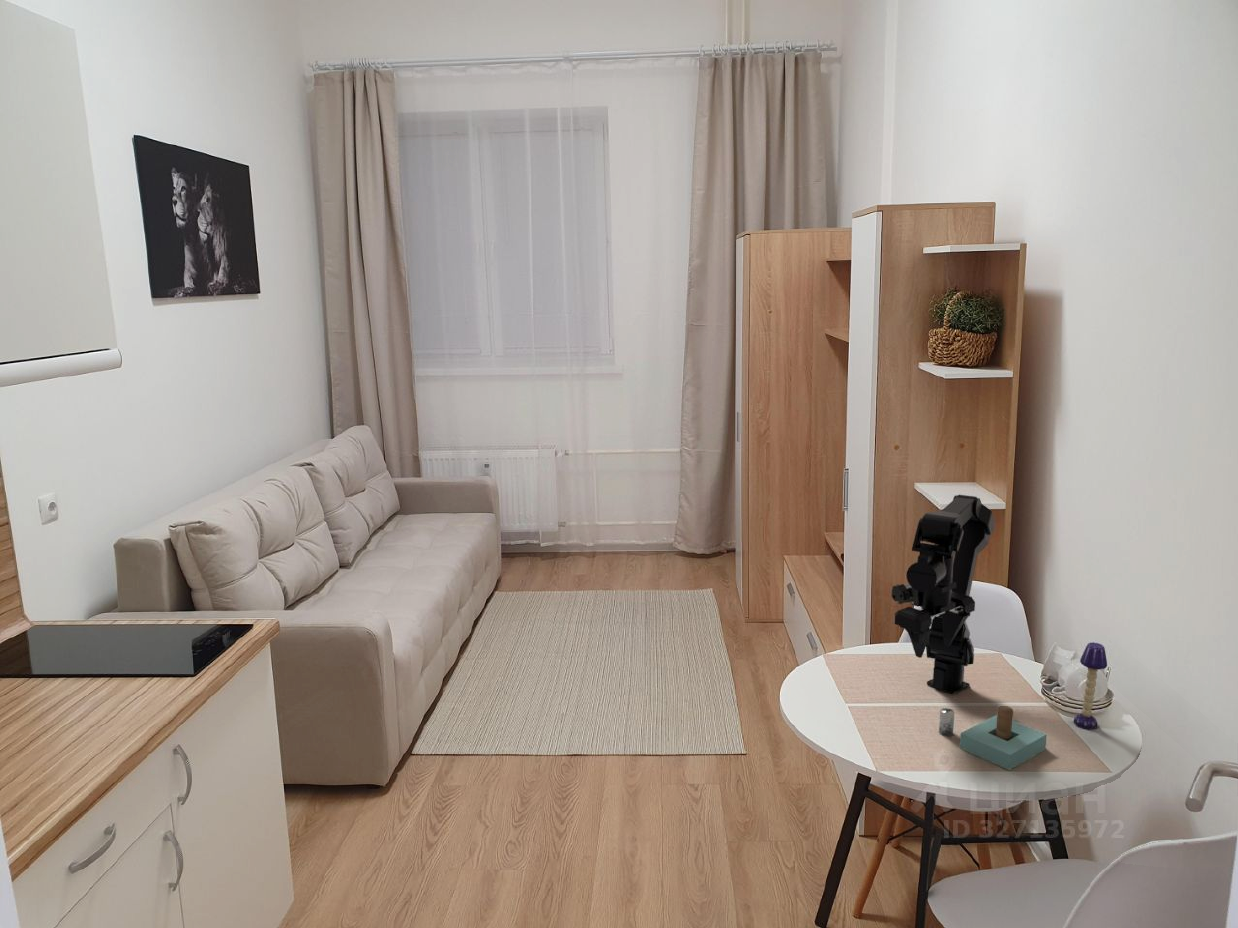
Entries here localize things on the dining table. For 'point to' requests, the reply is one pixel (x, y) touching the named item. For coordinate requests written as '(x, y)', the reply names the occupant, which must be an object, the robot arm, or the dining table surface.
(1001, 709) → the walnut dowel
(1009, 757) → the collar block
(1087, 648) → the toy lamp
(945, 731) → the grey stub
